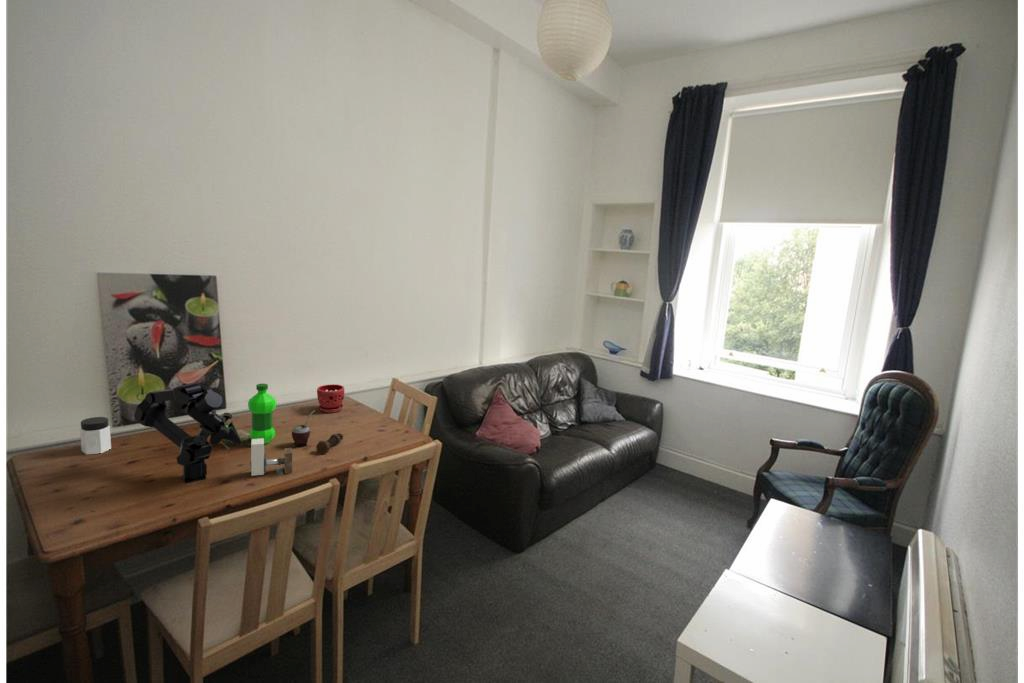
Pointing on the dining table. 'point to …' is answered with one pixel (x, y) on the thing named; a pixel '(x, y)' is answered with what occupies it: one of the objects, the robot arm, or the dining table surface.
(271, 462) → the pipe
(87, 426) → the jar
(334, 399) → the plant pot
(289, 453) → the pipe block
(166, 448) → the dining table surface
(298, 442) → the mate gourd
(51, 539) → the dining table surface
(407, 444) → the dining table surface
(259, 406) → the plastic bottle
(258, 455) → the white rectangular block
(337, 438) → the brown knobbed cylinder
